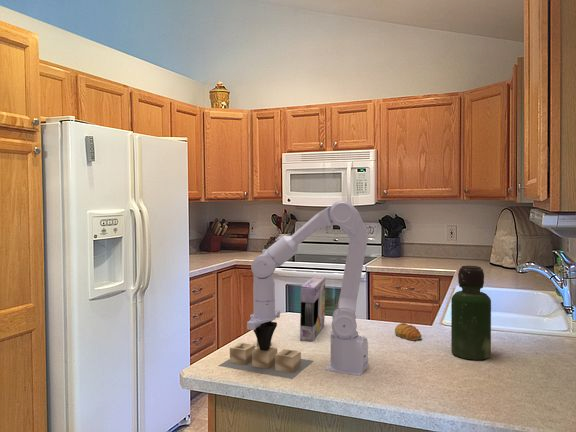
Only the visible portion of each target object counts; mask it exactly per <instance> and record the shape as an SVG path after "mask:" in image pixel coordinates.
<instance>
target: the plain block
mask: <svg viewBox="0 0 576 432" xmlns="http://www.w3.org/2000/svg"><path fill="white" fill-rule="evenodd" d="M277 353H278V347H272V346H271V347H270V348H269V350H267V351H264V350H260V347H257V348H255V350H253V351H252V366H255V367H260V368H266V369H269V368H271V367H272V366H274V365H275V355H276V354H277Z"/></svg>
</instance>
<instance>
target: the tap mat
mask: <svg viewBox="0 0 576 432" xmlns="http://www.w3.org/2000/svg"><path fill="white" fill-rule="evenodd" d="M314 362H315V360H311V359H305V358H301V367H300V368H299V369H297V370H296V371H295V372H294V373H290V372H284V371H278V370H275V365H274V366H272V367H271V368H269V369H266V368H260V367H255V366H252V361H251V362H250V363H248V364H246V365H243V364H237V363H231V362H230V358H229V359H227V360H225V361H224V362H222V363H220V364H218V365H217V366H218V367H223V368H227V369H234V370H240V371H246V372H251V373H256V374H263V375H266V376H267V375H268V376H273V377H279V378H285V379H289V380H290V379H291V380H293V379H294V378H295V377H297V376H298V375H299V374H301V372H302V371H304V370H305V369H306V368H308V367H309V366H310V365H312V364H313V363H314Z"/></svg>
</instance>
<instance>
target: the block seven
mask: <svg viewBox="0 0 576 432" xmlns="http://www.w3.org/2000/svg"><path fill="white" fill-rule="evenodd" d="M255 349H256V345H255V344H250V343H244V342H238V343H236V344H234V345H232V346H230V347H229V359H230V362H231V363H237V364H243V365H246V364H248V363H250V362H251V361H252V351H253V350H255Z"/></svg>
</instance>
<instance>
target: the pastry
mask: <svg viewBox="0 0 576 432" xmlns="http://www.w3.org/2000/svg"><path fill="white" fill-rule="evenodd" d="M394 333H395V335H396V336H398V337H399V338H401V339H404V340H407V341H417V340H421V338H422V334H421V331H419V329H418V328H417V327H416V326H415V325H412V324H409V323H405V322H401V323H399V324H397V325H396V326H395V328H394Z"/></svg>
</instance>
